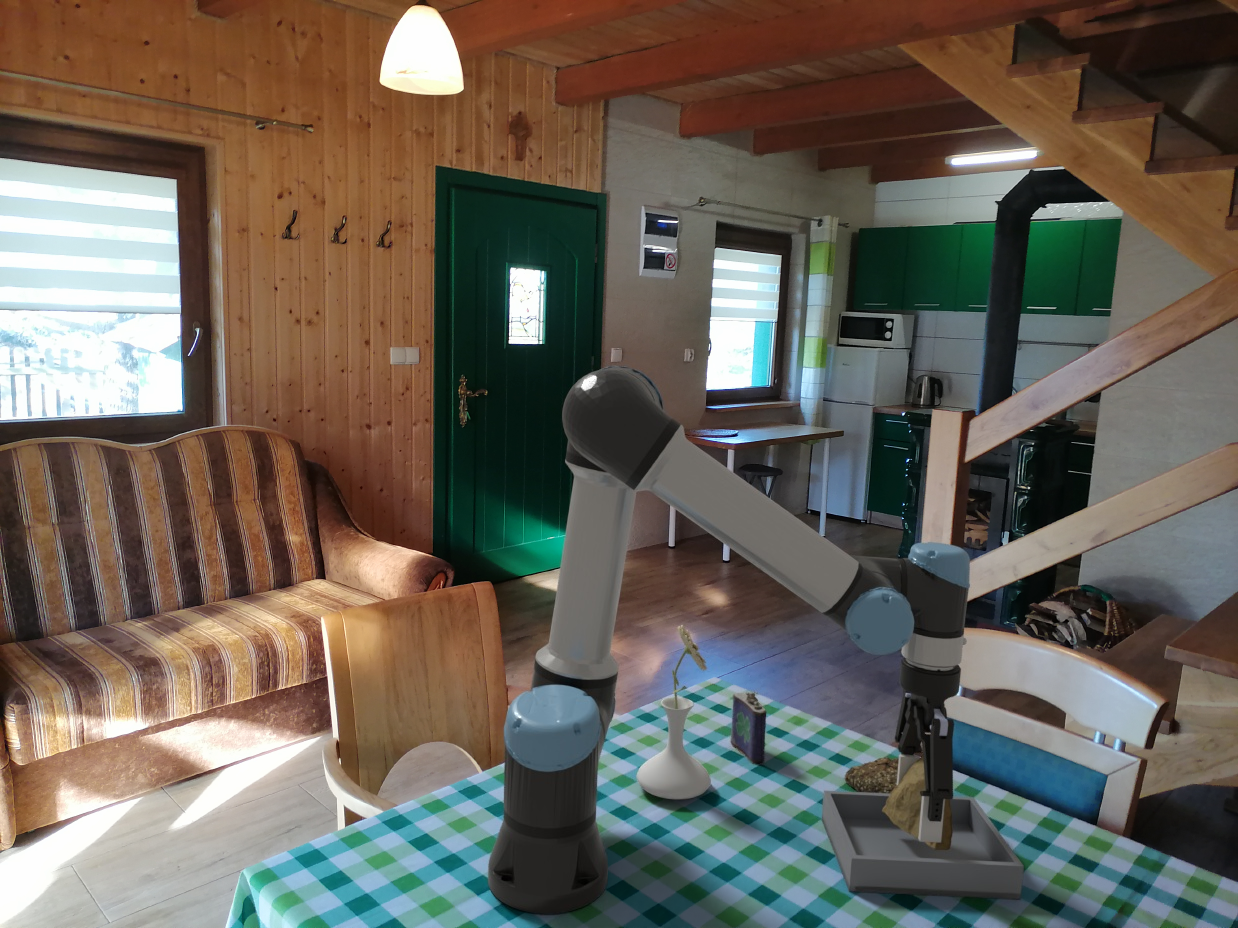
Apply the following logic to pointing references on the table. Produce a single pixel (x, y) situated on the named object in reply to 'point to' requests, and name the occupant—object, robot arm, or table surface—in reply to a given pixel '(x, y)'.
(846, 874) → the bin
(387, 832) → the table surface
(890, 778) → the bread roll
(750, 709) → the flask
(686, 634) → the flower in vase
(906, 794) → the rock
